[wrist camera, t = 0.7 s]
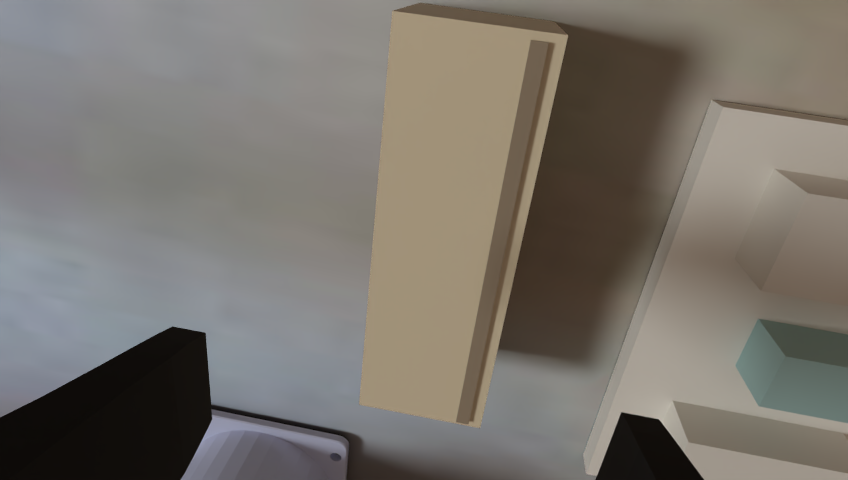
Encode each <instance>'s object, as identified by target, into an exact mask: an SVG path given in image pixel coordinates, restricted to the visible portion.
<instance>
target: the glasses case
mask: <svg viewBox="0 0 848 480" xmlns="http://www.w3.org/2000/svg"><path fill="white" fill-rule="evenodd" d="M567 39H568V34H566V33H565V32H564V31H563V30H562V29H561V28H560V27H559V26H558V25H557V24H556V23H555V22H554V21H548V20H541V19H533V18H526V17H519V16H512V15H504V14H497V13H490V12H482V11H475V10H468V9H461V8H453V7H446V6H439V5H432V4H424V3H418V4H414V5H411V6H407V7H404V8H401V9H397V10H394V11H392V22H391V34H390V46H389V58H388V70H387V82H386V93H385V105H384V117H383V129H382V141H381V153H380V164H379V176H378V188H377V200H376V212H375V224H374V235H373V247H372V259H371V271H370V283H369V295H368V307H367V318H366V330H365V342H364V354H363V366H362V378H361V389H360V401H359V405H364V406H369V407H374V408H379V409H384V410H390V411H395V412H400V413H405V414H410V415H415V416H421V417H426V418H431V419H436V420H441V421H446V422H451V423H457V424H462V425H467V426H472V427H477V428H480V426H481V422H482V417H483V413H484V408H485V404H486V399H487V395H488V390H489V386H490V382H491V377H492V373H493V368H494V364H495V359H496V355H497V350H498V346H499V341H500V337H501V333H502V328H503V324H504V319H505V315H506V310H507V306H508V301H509V297H510V293H511V288H512V284H513V279H514V275H515V270H516V266H517V261H518V257H519V252H520V248H521V244H522V239H523V235H524V230H525V226H526V221H527V217H528V212H529V208H530V204H531V199H532V195H533V190H534V186H535V181H536V177H537V172H538V168H539V163H540V159H541V155H542V150H543V146H544V141H545V137H546V132H547V128H548V123H549V119H550V115H551V110H552V106H553V101H554V97H555V92H556V88H557V83H558V79H559V75H560V70H561V66H562V61H563V57H564V52H565V48H566V43H567Z"/></svg>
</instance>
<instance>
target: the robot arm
mask: <svg viewBox="0 0 848 480" xmlns="http://www.w3.org/2000/svg"><path fill="white" fill-rule="evenodd" d="M335 453H337V454H335ZM348 453H349V442H348V441H347V439H345V438H344V437H343V436H340V435H335V434H330V433H325V432H321V431H316V430H311V429H306V428H301V427H296V426H291V425H286V424H281V423H277V422H272V421H267V420H262V419H257V418H252V417H247V416H242V415H237V414H232V413H228V412H223V411H218V410H213V409H211V397H210V385H209V372H208V359H207V347H206V334H205V333H203V332H198V331H193V330H188V329H182V328H177V327H171V328H169V329H167V330H165V331H163V332H161V333H159V334H157V335H155V336H153V337H151V338H149V339H147V340H146V341H144V342H142V343H140V344H138V345H136V346H134V347H133V348H131V349H129V350H127V351H125V352H124V353H122V354H120V355H118V356H116V357H115V358H113V359H111V360H109V361H107V362H105V363H104V364H102V365H100V366H98V367H96V368H94V369H93V370H91V371H89V372H87V373H85V374H83V375H81V376H80V377H78V378H76V379H74V380H72V381H70V382H69V383H67V384H65V385H63V386H61V387H59V388H57V389H56V390H54V391H52V392H50V393H48V394H46V395H44V396H42V397H41V398H39V399H37V400H35V401H33V402H31V403H29V404H27V405H24V406H22V407H20V408H18V409H16V410H14V411H12V412H10V413H8V414H6V415H4V416H2V417H0V480H346V478H347V466H348ZM338 454H339V455H338ZM596 480H704V479H703V478H702V476H701V475H700V474H699V472H698V471H697V469H696V468H695V467H694V465H693V464H692V463H691V461H690V460H689V459H688V457H687V456H686V455H685V453H684V452H683V451H682V449H681V448H680V446H679V445H678V444H677V442H676V441H675V440H674V438H673V437H672V436H671V434H670V433H669V432H668V430H667V429H666V428H665V426H664V425H663V424H662V423H661V421H660V420H659V419H655V418H650V417H644V416H639V415H634V414H629V413H623V412H621V414H620V417H619V420H618V422H617V425H616V427H615V430H614V433H613V435H612V438H611V441H610V443H609V446H608V448H607V451H606V454H605V456H604V459H603V462H602V464H601V467H600V469H599V472H598V475H597V477H596Z"/></svg>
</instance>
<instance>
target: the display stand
mask: <svg viewBox="0 0 848 480" xmlns="http://www.w3.org/2000/svg"><path fill="white" fill-rule="evenodd" d="M621 412H623V413H629V414H634V415H639V416H644V417H650V418H655V419H659V420H660V421H661V423H662V424H663V425H664V426H665V428H666V429H667V430H668V432H669V433H670V434H671V436H672V437H673V438H674V440H675V441H676V442H677V444H678V445H679V446H680V448H681V449H682V451H683V452H684V453H685V455H686V456H687V457H688V459H689V460H690V461H691V463H692V464H693V465H694V467H695V468H696V469H697V471H698V472H699V474H700V475H701V476H702V478H703V479H704V480H848V120H843V119H836V118H829V117H823V116H816V115H809V114H803V113H796V112H789V111H783V110H776V109H769V108H763V107H756V106H749V105H743V104H736V103H729V102H723V101H716V100H711V102H710V105H709V107H708V110H707V113H706V116H705V119H704V121H703V124H702V127H701V130H700V132H699V135H698V138H697V141H696V143H695V146H694V149H693V152H692V155H691V157H690V160H689V163H688V166H687V168H686V171H685V174H684V177H683V179H682V182H681V185H680V188H679V191H678V193H677V196H676V199H675V202H674V204H673V207H672V210H671V213H670V215H669V218H668V221H667V224H666V227H665V229H664V232H663V235H662V238H661V240H660V243H659V246H658V249H657V251H656V254H655V257H654V260H653V263H652V265H651V268H650V271H649V274H648V276H647V279H646V282H645V285H644V287H643V290H642V293H641V296H640V299H639V301H638V304H637V307H636V310H635V312H634V315H633V318H632V321H631V323H630V326H629V329H628V332H627V335H626V337H625V340H624V343H623V346H622V348H621V351H620V354H619V357H618V359H617V362H616V365H615V368H614V371H613V373H612V376H611V379H610V382H609V384H608V387H607V390H606V393H605V395H604V398H603V401H602V404H601V407H600V409H599V412H598V415H597V418H596V420H595V423H594V426H593V429H592V431H591V434H590V437H589V440H588V443H587V445H586V448H585V451H584V454H583V457H584V463H585V470H586V474H589V475H594V476H597V475H598V472H599V469H600V467H601V464H602V462H603V459H604V456H605V454H606V451H607V448H608V446H609V443H610V441H611V438H612V435H613V433H614V430H615V427H616V425H617V422H618V420H619V417H620V414H621Z"/></svg>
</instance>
